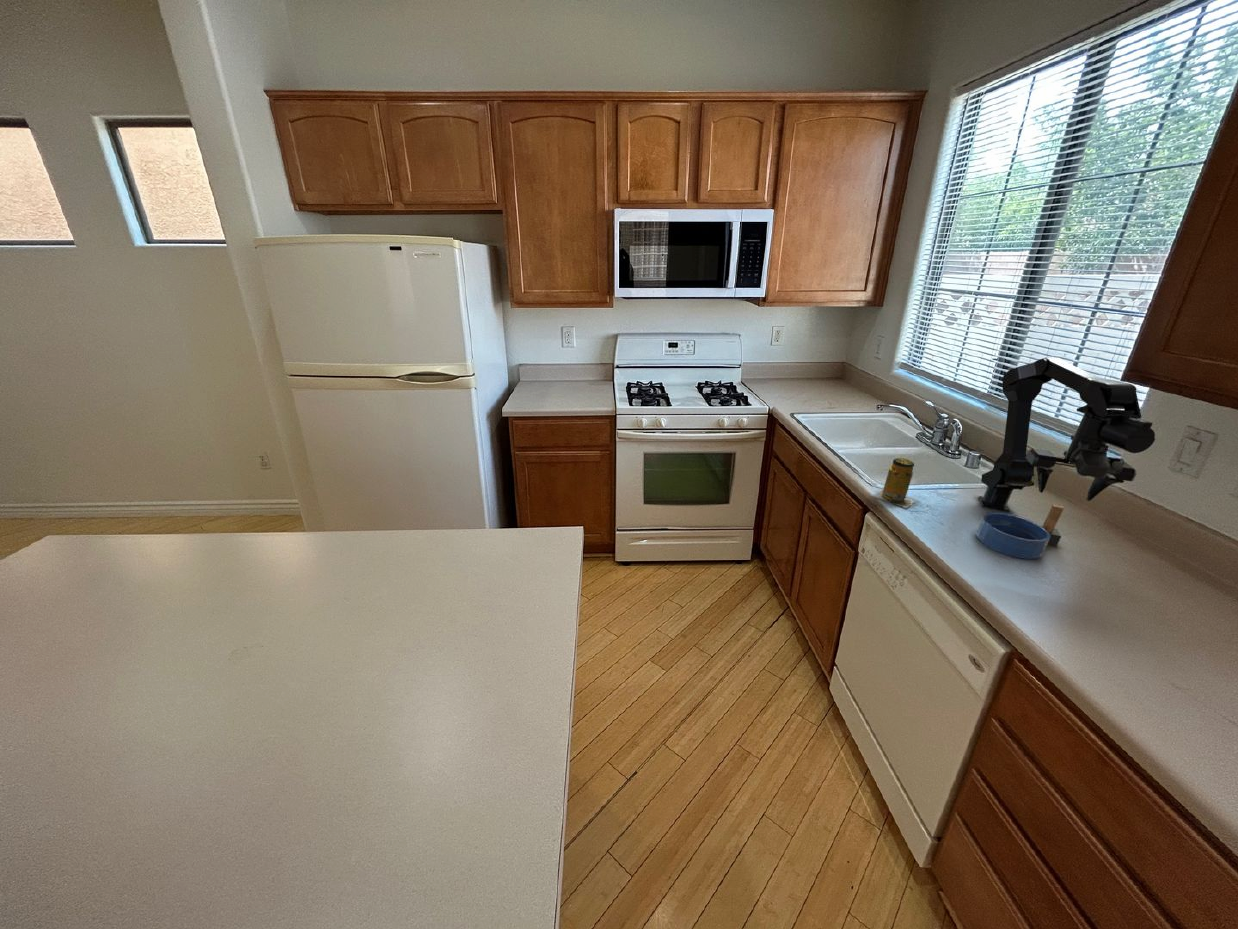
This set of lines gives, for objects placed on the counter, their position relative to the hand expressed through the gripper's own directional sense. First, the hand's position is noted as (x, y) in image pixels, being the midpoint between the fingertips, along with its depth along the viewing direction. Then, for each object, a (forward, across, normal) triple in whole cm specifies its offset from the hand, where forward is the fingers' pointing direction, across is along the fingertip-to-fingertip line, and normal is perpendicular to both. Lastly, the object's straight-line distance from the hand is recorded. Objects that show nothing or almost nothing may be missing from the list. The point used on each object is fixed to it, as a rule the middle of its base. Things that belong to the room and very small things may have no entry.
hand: (1063, 496), depth 116 cm
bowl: (+13, -9, -7) cm, 17 cm away
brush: (+13, 0, 0) cm, 13 cm away
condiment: (+13, -33, +7) cm, 36 cm away
